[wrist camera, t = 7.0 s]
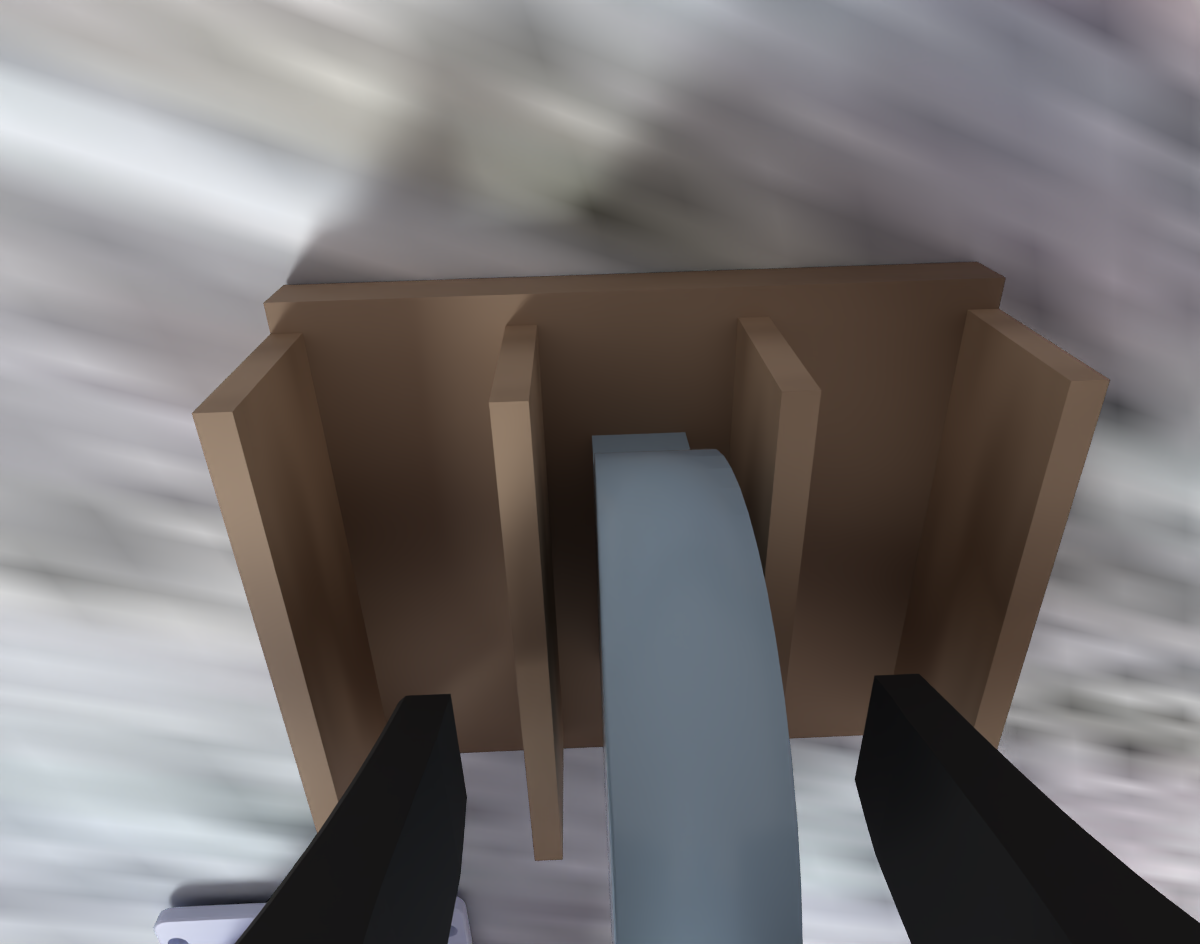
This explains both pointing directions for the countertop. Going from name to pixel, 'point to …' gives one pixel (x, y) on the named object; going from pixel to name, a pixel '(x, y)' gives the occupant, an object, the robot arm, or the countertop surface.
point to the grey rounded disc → (690, 704)
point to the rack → (566, 491)
